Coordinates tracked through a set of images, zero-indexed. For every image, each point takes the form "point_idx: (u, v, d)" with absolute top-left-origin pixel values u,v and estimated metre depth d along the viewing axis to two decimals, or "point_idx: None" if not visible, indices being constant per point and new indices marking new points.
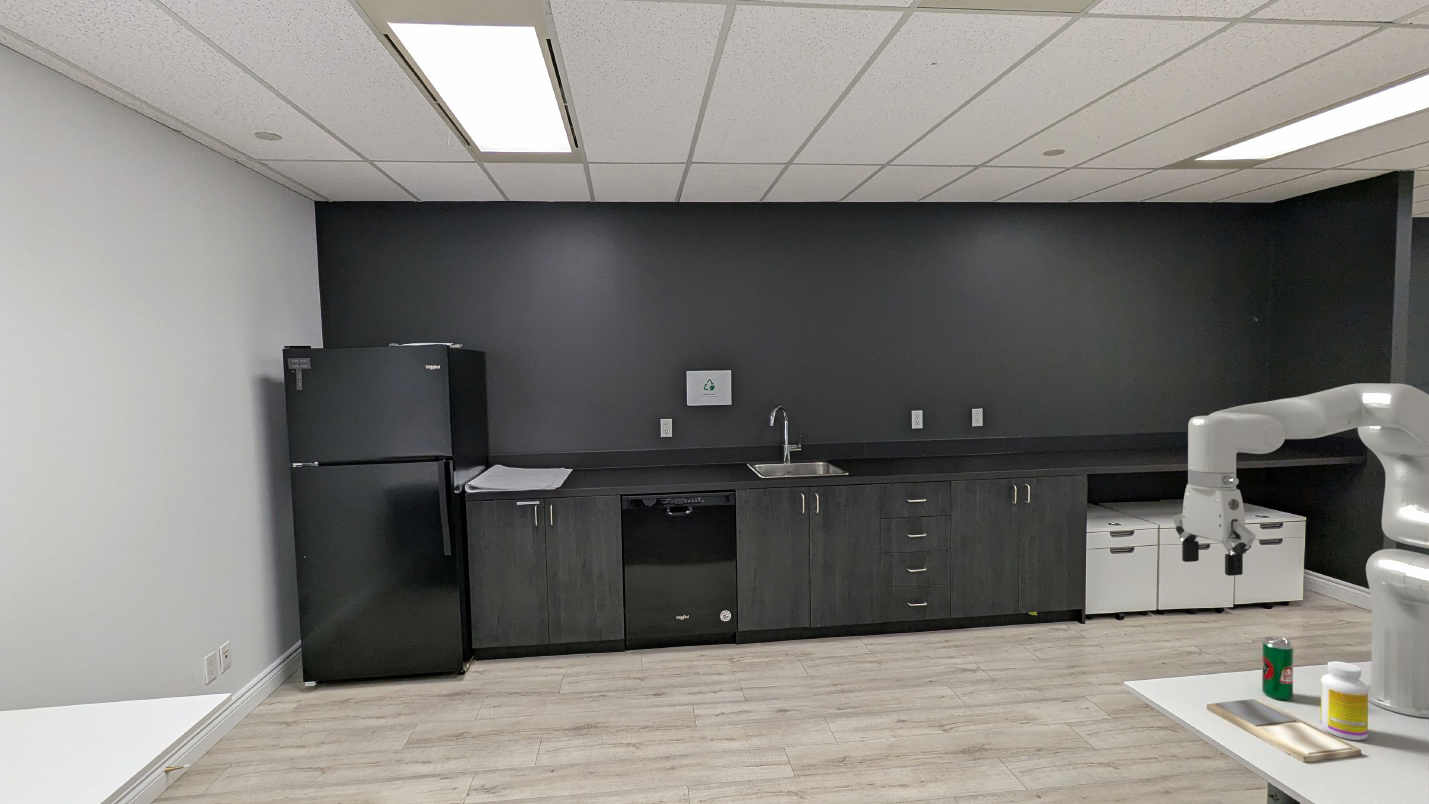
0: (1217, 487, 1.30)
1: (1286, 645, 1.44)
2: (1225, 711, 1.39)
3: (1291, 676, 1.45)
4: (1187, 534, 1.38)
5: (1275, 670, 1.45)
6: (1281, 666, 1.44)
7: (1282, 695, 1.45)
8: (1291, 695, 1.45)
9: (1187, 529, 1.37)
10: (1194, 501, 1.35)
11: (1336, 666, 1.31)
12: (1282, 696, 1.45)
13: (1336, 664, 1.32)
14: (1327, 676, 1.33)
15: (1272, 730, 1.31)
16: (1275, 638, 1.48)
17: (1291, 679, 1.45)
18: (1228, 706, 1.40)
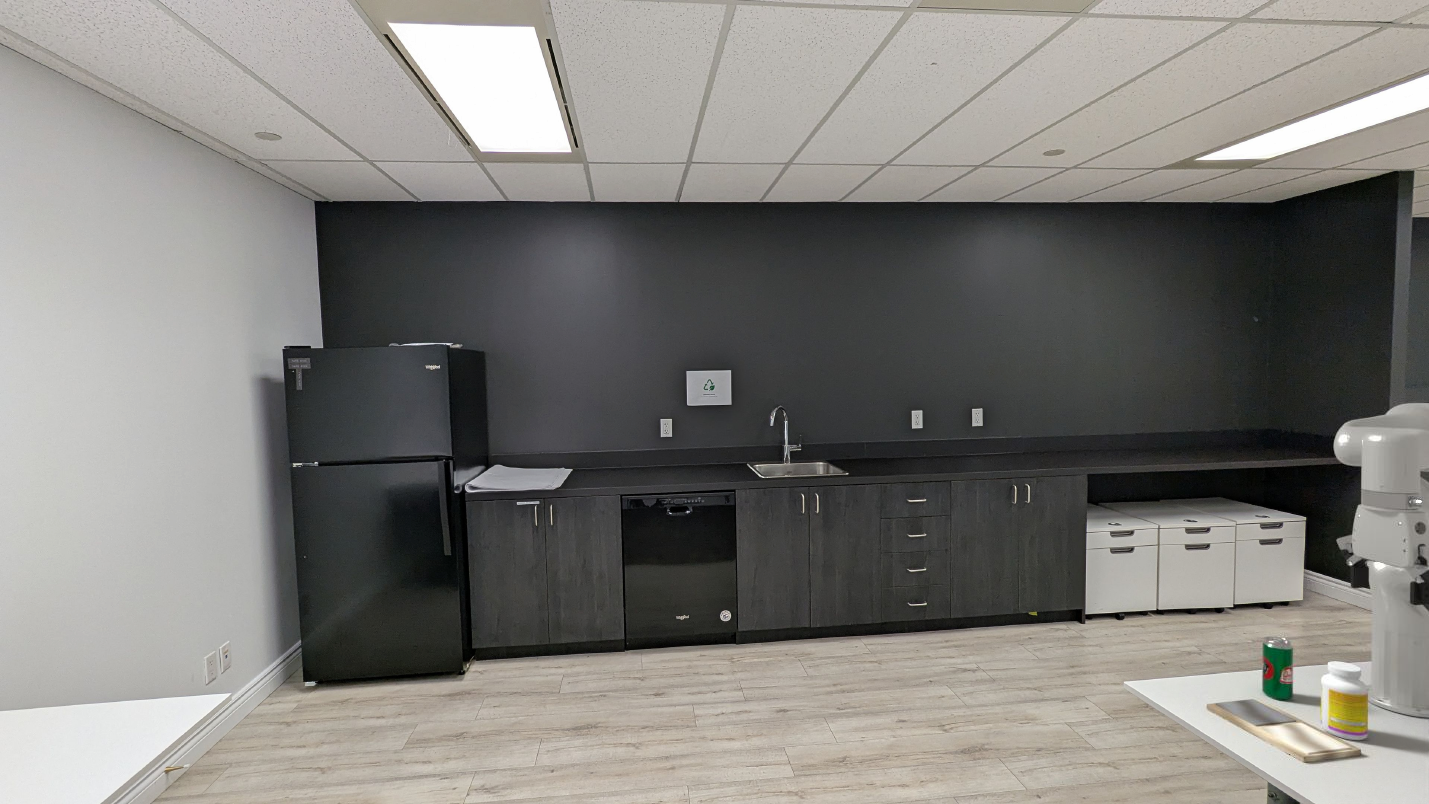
0: (1401, 509, 1.20)
1: (1286, 645, 1.44)
2: (1225, 711, 1.39)
3: (1291, 676, 1.45)
4: (1357, 558, 1.28)
5: (1275, 670, 1.45)
6: (1281, 666, 1.44)
7: (1282, 695, 1.45)
8: (1291, 695, 1.45)
9: (1359, 553, 1.27)
10: (1369, 524, 1.25)
11: (1336, 666, 1.31)
12: (1282, 696, 1.45)
13: (1336, 664, 1.32)
14: (1327, 676, 1.33)
15: (1272, 730, 1.31)
16: (1275, 638, 1.48)
17: (1291, 679, 1.45)
18: (1228, 706, 1.40)
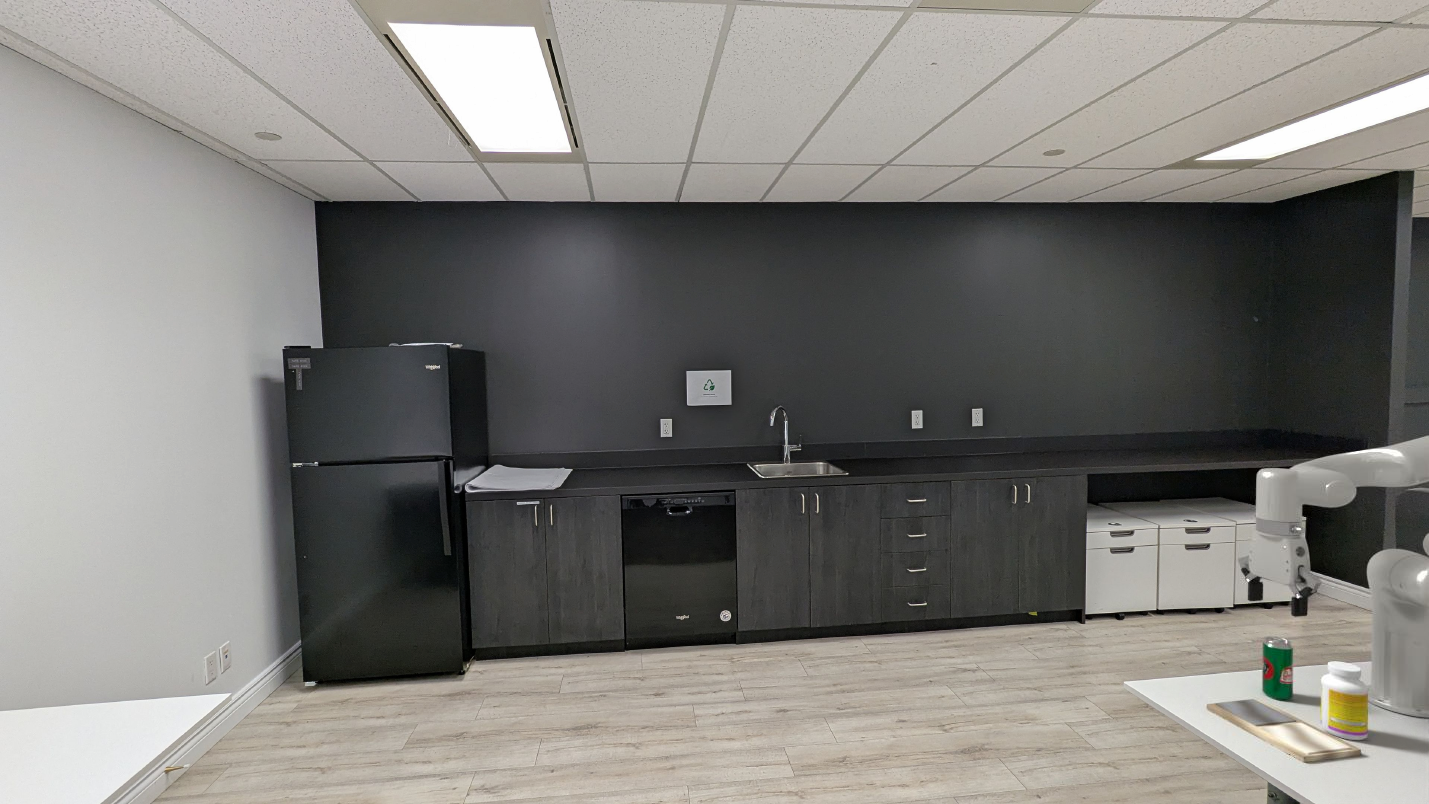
0: (1285, 535, 1.42)
1: (1286, 645, 1.44)
2: (1225, 711, 1.39)
3: (1291, 676, 1.45)
4: (1253, 576, 1.50)
5: (1275, 670, 1.45)
6: (1281, 666, 1.44)
7: (1282, 695, 1.45)
8: (1291, 695, 1.45)
9: (1253, 571, 1.49)
10: (1261, 547, 1.47)
11: (1336, 666, 1.31)
12: (1282, 696, 1.45)
13: (1336, 664, 1.32)
14: (1327, 676, 1.33)
15: (1272, 730, 1.31)
16: (1275, 638, 1.48)
17: (1291, 679, 1.45)
18: (1228, 706, 1.40)
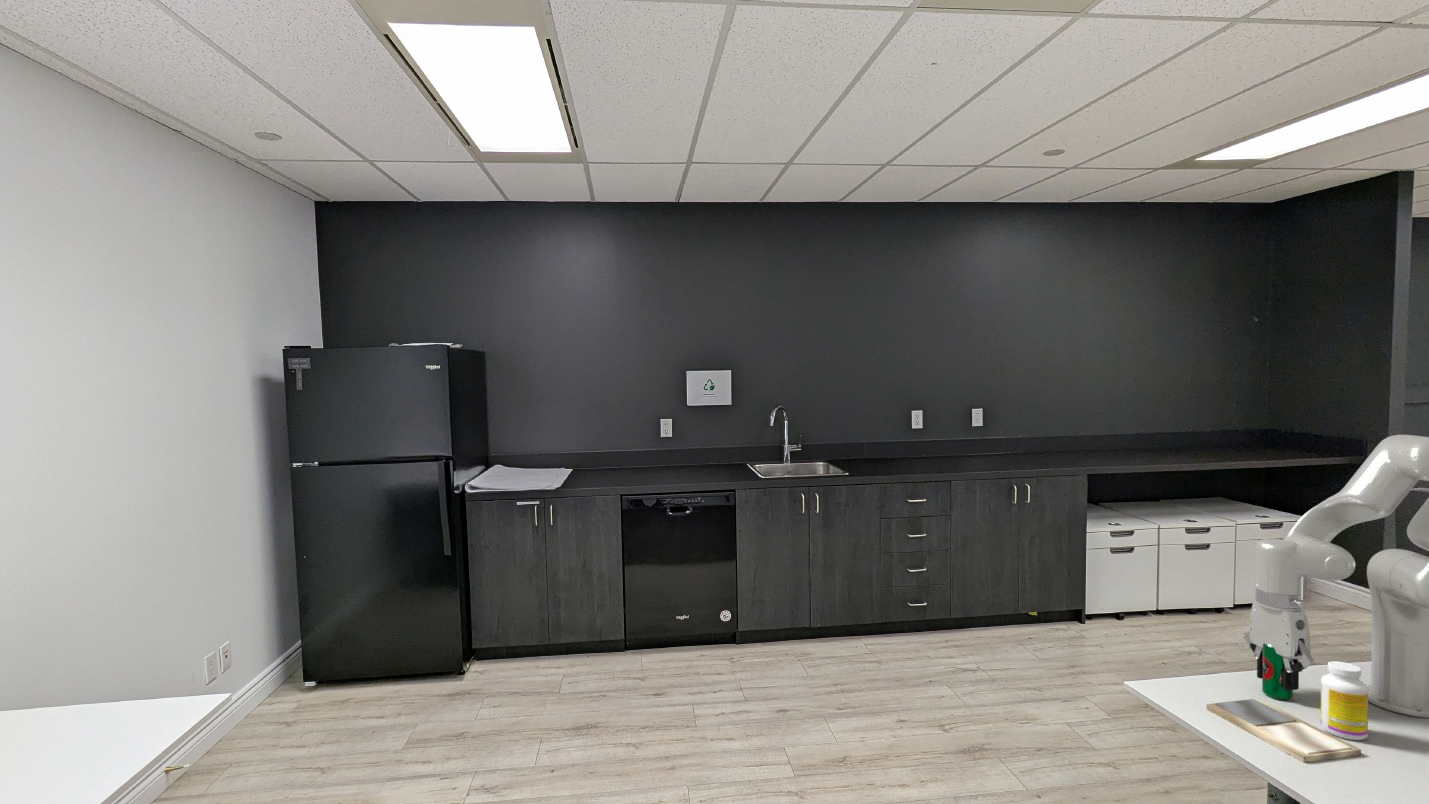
0: (1284, 608, 1.43)
1: None
2: (1225, 711, 1.39)
3: None
4: (1260, 650, 1.49)
5: (1275, 670, 1.45)
6: (1281, 666, 1.44)
7: (1282, 695, 1.45)
8: (1291, 695, 1.45)
9: (1254, 641, 1.50)
10: (1261, 617, 1.47)
11: (1336, 666, 1.31)
12: (1282, 696, 1.45)
13: (1336, 664, 1.32)
14: (1327, 676, 1.33)
15: (1272, 730, 1.31)
16: None
17: None
18: (1228, 706, 1.40)
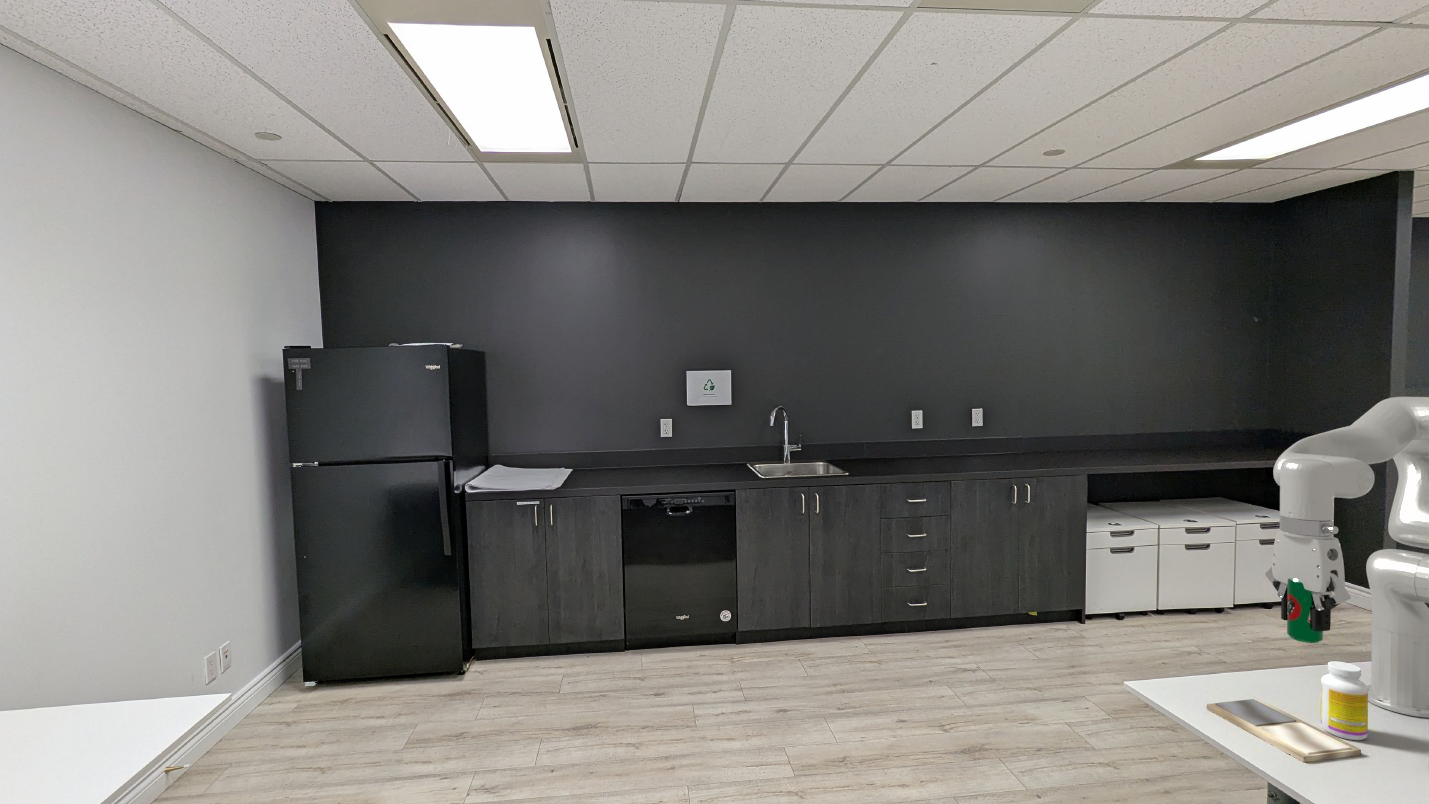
0: (1314, 536, 1.24)
1: None
2: (1225, 711, 1.39)
3: None
4: (1284, 588, 1.30)
5: (1302, 609, 1.26)
6: (1309, 604, 1.25)
7: (1310, 637, 1.25)
8: (1321, 637, 1.25)
9: (1278, 577, 1.30)
10: (1287, 549, 1.28)
11: (1336, 666, 1.31)
12: (1311, 638, 1.25)
13: (1336, 664, 1.32)
14: (1327, 676, 1.33)
15: (1272, 730, 1.31)
16: None
17: None
18: (1228, 706, 1.40)
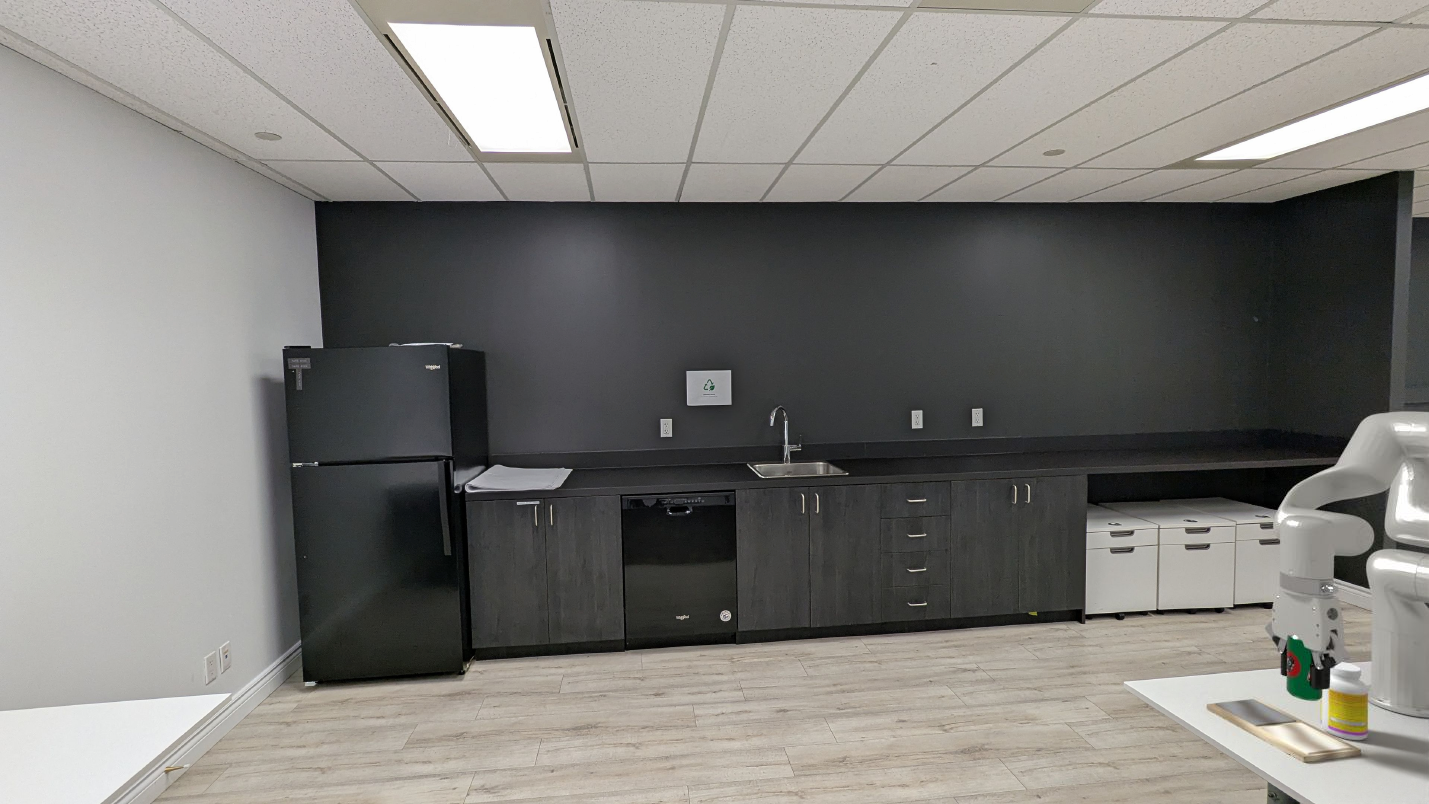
0: (1314, 594, 1.24)
1: None
2: (1225, 711, 1.39)
3: None
4: (1284, 643, 1.30)
5: (1302, 666, 1.26)
6: (1309, 662, 1.25)
7: (1310, 695, 1.25)
8: (1320, 695, 1.26)
9: (1277, 633, 1.31)
10: (1287, 606, 1.28)
11: (1336, 666, 1.31)
12: (1310, 696, 1.25)
13: None
14: None
15: (1272, 730, 1.31)
16: None
17: None
18: (1228, 706, 1.40)
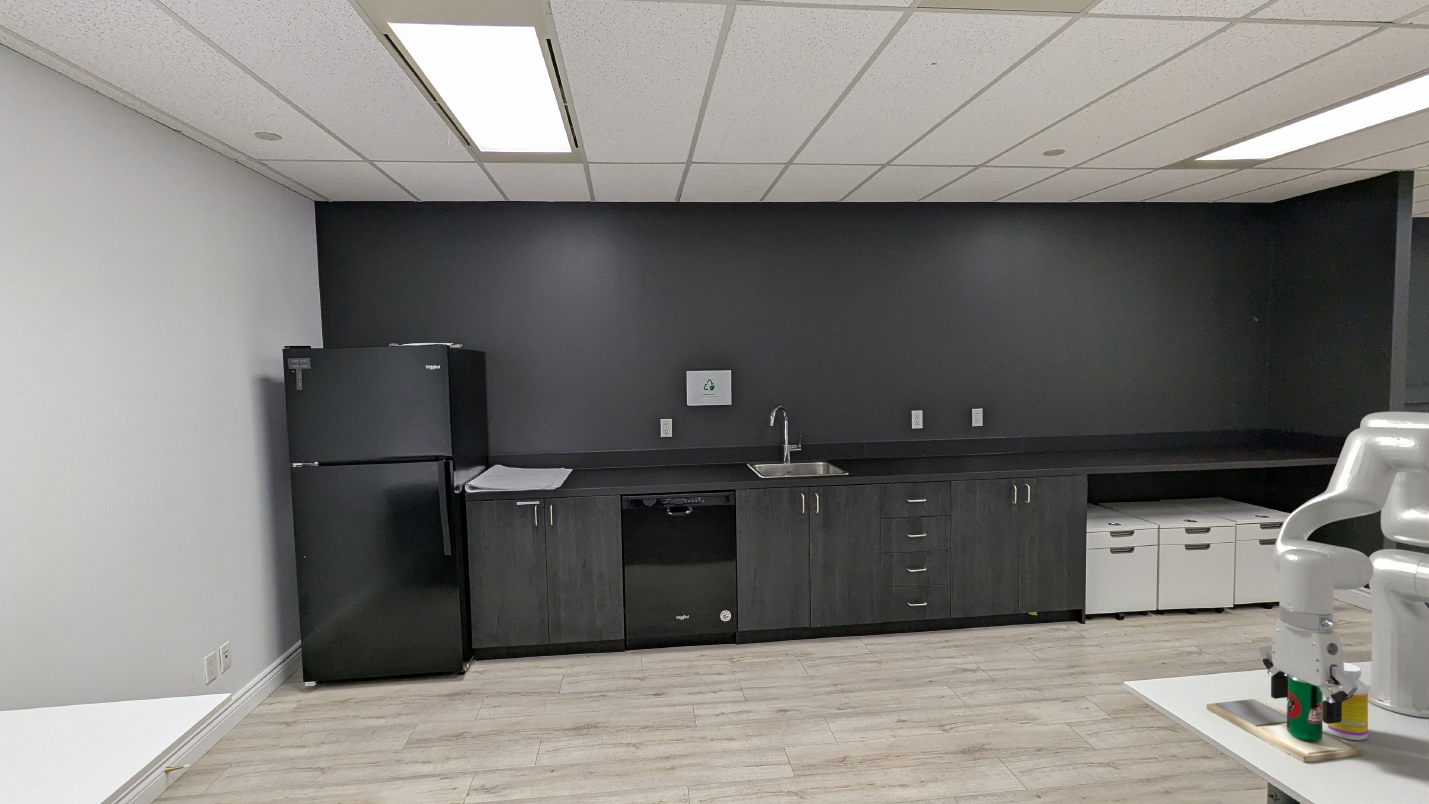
0: (1314, 629, 1.24)
1: None
2: (1225, 711, 1.39)
3: (1321, 715, 1.26)
4: (1277, 670, 1.32)
5: (1302, 708, 1.26)
6: (1309, 704, 1.26)
7: (1310, 737, 1.26)
8: (1321, 736, 1.26)
9: (1277, 666, 1.31)
10: (1286, 639, 1.28)
11: None
12: (1310, 737, 1.26)
13: None
14: None
15: (1272, 730, 1.31)
16: None
17: (1321, 718, 1.26)
18: (1228, 706, 1.40)
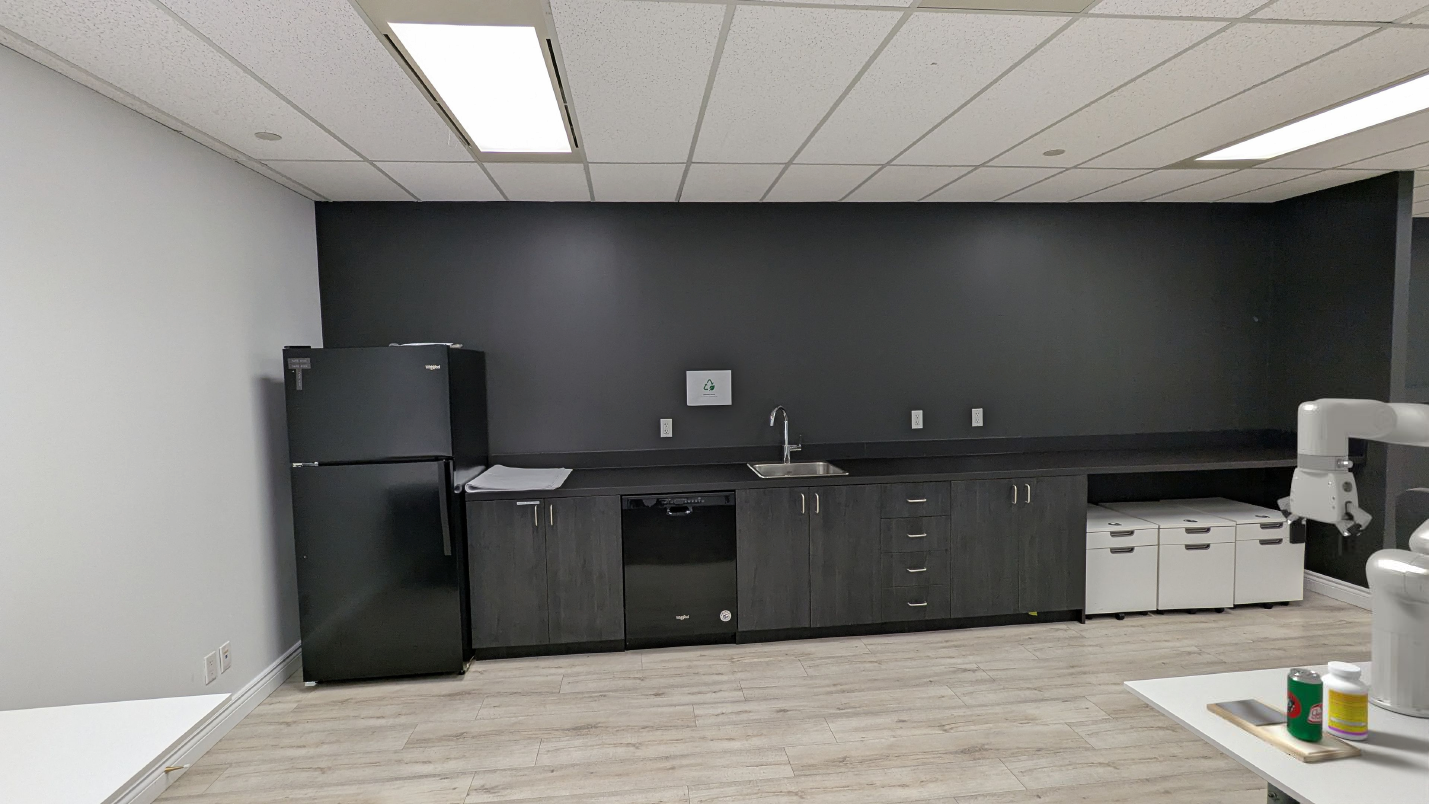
0: (1330, 470, 1.34)
1: (1315, 679, 1.26)
2: (1225, 711, 1.39)
3: (1321, 715, 1.26)
4: (1295, 517, 1.42)
5: (1302, 708, 1.26)
6: (1309, 704, 1.26)
7: (1310, 737, 1.26)
8: (1321, 736, 1.26)
9: (1296, 512, 1.41)
10: (1304, 484, 1.38)
11: (1336, 666, 1.31)
12: (1310, 737, 1.26)
13: (1336, 664, 1.32)
14: (1327, 676, 1.33)
15: (1272, 730, 1.31)
16: (1302, 670, 1.29)
17: (1321, 718, 1.26)
18: (1228, 706, 1.40)
